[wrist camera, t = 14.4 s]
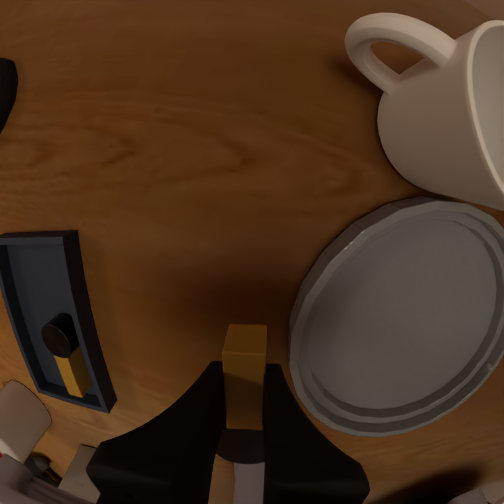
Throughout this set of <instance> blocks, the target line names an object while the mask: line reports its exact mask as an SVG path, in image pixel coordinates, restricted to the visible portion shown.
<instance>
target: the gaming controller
mask: <svg viewBox="0 0 504 504" xmlns="http://www.w3.org/2000/svg"><path fill="white" fill-rule="evenodd" d="M24 465H25V466H26V467H27V468H28V469H29V470H30V472H31V473H32V475H33V476H35V477H37V478H39V479H40V480H42V481H44V482H46V483H48V484H50V485H52V486H55V487H57V488H58V487H59V484H58V483H57V482H55V481H54V480H53V479H52V478H51V477H50V476H49V475H48V474H47V473H46V472H45V470H46V469H47V468H48V467H49V462H48V460H47V459H46V458H44V457H42V456H35V457H31V456H28V458H27V459H26V461H25V462H24Z"/></svg>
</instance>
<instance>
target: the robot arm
mask: <svg viewBox="0 0 504 504" xmlns="http://www.w3.org/2000/svg"><path fill="white" fill-rule="evenodd" d="M225 417H226V409H225V394H224V378H223V362H222V361H212V362H211V363H210V364H209V365H208V366H207V368H206V369H205V370H204V372H203V373H202V374H201V375H200V377H199V378H198V379H197V380H196V381H195V382H194V384H193V385H192V386H191V387H190V388H189V389H188V390H187V391H186V392H185V393H184V394H183V395H182V396H181V397H180V398H179V399H178V400H177V401H176V402H175V403H173V404H172V405H171V406H170V407H169V408H167V409H166V410H165V411H163V412H162V413H161V414H159V415H158V416H156V417H155V418H153V419H152V420H150V421H149V422H147V423H145V424H144V425H142V426H140V427H138V428H136V429H134V430H132V431H130V432H128V433H125V434H123V435H121V436H118V437H115V438H112V439H109V440H106V441H103V442H101V443H100V445H99V446H98V447H97V449H96V450H95V452H94V454H93V455H92V457H91V459H90V461H89V463H88V465H87V467H86V473H87V475H88V477H89V479H90V480H91V481H92V483H93V484H94V485H95V487H96V488H97V490H98V491H99V492H100V496H99V498H98V500H97V502H96V504H208V499H209V492H210V484H211V477H212V471H213V464H214V459H215V455H216V451H217V447H218V444H219V440H220V436H221V433H222V429H223V425H224V421H225ZM262 426H263V442H264V457H265V462H263V463H259V464H238V463H234V471H235V487H234V495H233V503H232V504H362V503H363V502H364V500H365V499H366V497H367V496H368V494H369V491H370V487H369V482H368V479H367V477H366V474H365V472H364V470H363V468H362V466H361V464H360V463H359V462H357V461H355V460H354V459H352V458H351V457H349V456H348V455H346V454H345V453H343V452H342V451H341V450H340V449H338V448H337V447H336V446H335V445H333V444H332V443H331V442H330V441H329V440H328V439H327V438H326V437H325V436H324V435H323V434H322V433H321V432H320V431H319V430H318V429H317V428H316V427H315V426H314V424H313V423H312V422H311V421H310V420H309V418H308V417H307V416H306V414H305V413H304V412H303V410H302V409H301V407H300V406H299V404H298V403H297V401H296V399H295V398H294V396H293V394H292V392H291V390H290V388H289V386H288V384H287V382H286V380H285V377H284V374H283V371H282V368H281V365H279V364H266V370H265V374H264V380H263V407H262ZM0 504H94V503H92V502H89V501H87V500H84V499H82V498H79V497H77V496H74V495H72V494H70V493H68V492H65V491H63V490H61V489H59V488H57V487H55V486H52V485H50V484H48V483H46V482H44V481H42V480H40V479H39V478H37V477H35V476H33V475H32V473H31V472H30V470H29V469H28V468H27V467H26V466H25V465H24V464H22V463H21V462H19V461H18V460H16V459H14V458H13V457H11V456H9V455H8V454H6V453H4V454H3V456H2V457H1V458H0ZM448 504H488V503H487V501H486V499H485V496H484V494H483V492H482V490H481V488H480V487H478V488H476V489H473V490H471V491H469V492H466V493H464V494H461V495H459V496H457V497H455V498H453V499H452V500H451V501H450V502H449V503H448Z"/></svg>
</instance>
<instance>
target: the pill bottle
mask: <svg viewBox="0 0 504 504" xmlns="http://www.w3.org/2000/svg"><path fill="white" fill-rule="evenodd" d="M50 425H51V417H50V415H49V413H48V411H47V409H46V408H45V406H44V405H43V404H42V402H41V401H40V400H39V399H38V398H37V397H36V396H35V395H34V394H33V393H32V392H31V391H30V390H29V389H28V388H26V387H25V386H24V385H22V384H20V383H18V382H16V381H9V382H8V383H7V384H6V385H5V386H4V387H3V388H2V389H1V390H0V458H1V457H2V456H3V454H4V453H6V454H8V455H9V456H11V457H13V458H14V459H16V460H18V461H19V462H21V463H22V464H24V462H25V461H26V459H27V458H28V456H29V455H30V453H31V452H32V451H33V449H34V448H35V446H36V445H37V443H38V442H39V441H40V439H41V438H42V436H43V435H44V434H45V432H46V431H47V429H48V428H49V427H50Z"/></svg>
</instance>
